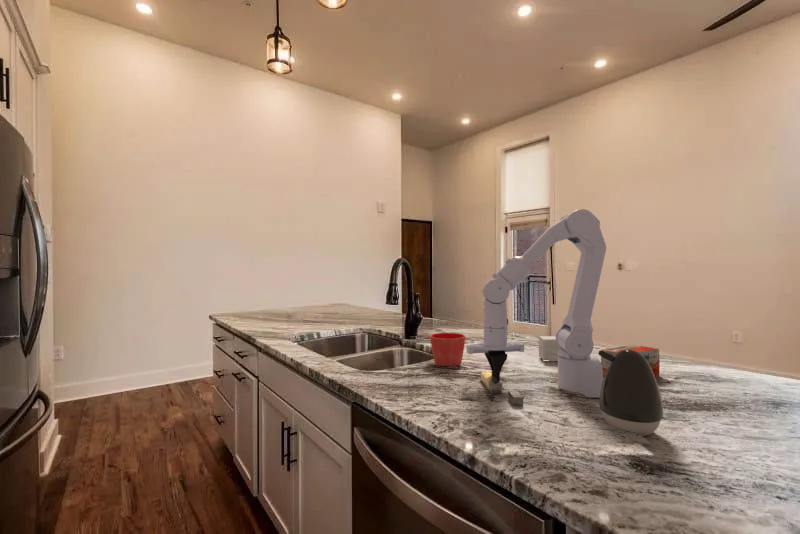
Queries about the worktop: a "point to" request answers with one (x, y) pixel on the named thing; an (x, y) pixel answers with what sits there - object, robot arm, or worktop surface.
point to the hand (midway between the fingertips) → (495, 381)
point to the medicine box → (647, 352)
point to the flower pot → (447, 348)
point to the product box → (548, 348)
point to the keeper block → (515, 398)
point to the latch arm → (491, 383)
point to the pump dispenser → (630, 393)
